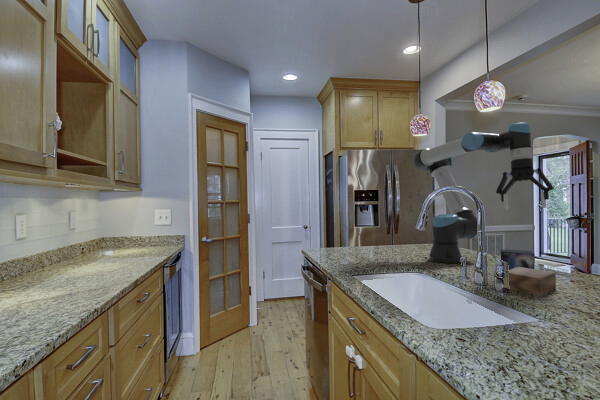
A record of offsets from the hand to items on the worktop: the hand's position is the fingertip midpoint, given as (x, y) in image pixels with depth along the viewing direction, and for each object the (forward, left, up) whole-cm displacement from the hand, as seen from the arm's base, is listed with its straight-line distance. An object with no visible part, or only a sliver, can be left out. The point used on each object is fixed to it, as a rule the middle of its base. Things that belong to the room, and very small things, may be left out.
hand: (524, 208), depth 130 cm
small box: (+2, -13, -27) cm, 30 cm away
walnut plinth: (+12, -27, -27) cm, 40 cm away
